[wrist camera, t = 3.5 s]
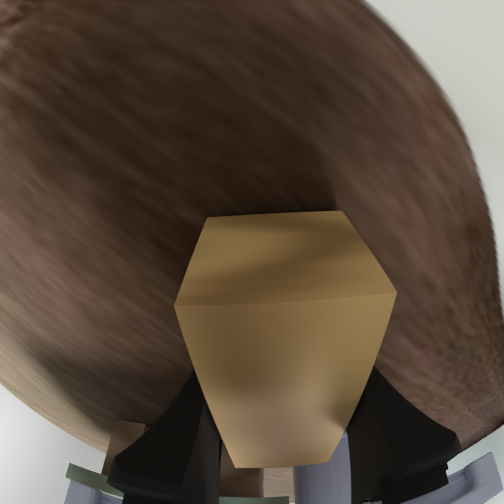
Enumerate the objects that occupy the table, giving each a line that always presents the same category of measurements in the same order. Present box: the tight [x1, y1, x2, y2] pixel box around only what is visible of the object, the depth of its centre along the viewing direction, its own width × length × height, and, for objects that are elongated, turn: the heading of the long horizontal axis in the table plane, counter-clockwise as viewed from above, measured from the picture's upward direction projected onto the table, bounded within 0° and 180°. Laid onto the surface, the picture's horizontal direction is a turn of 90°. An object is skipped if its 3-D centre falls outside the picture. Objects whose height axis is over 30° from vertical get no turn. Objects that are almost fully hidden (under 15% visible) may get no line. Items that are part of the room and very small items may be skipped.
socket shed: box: [66, 419, 289, 504], centre depth 18 cm, size 17×12×8 cm
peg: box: [174, 211, 397, 468], centre depth 11 cm, size 5×12×5 cm, turn 4°
